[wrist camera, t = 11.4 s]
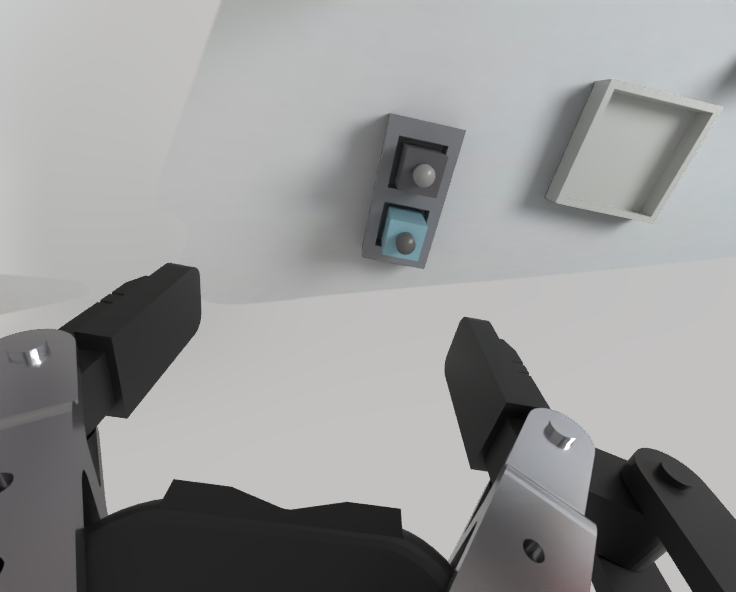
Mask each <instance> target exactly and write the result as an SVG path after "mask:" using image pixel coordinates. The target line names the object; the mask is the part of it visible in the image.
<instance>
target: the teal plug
mask: <svg viewBox="0 0 736 592" xmlns="http://www.w3.org/2000/svg"><path fill="white" fill-rule="evenodd" d="M427 229H428V226H427V224H426V221H425V219H424V217H423V215H422V213H421V211H420V210H418V209H413V208H408V207H403V206H399V205H394V204H389V203H388V206H387V211H386V215H385V219H384V224H383V228H382V233H381V240H382V255H387V256H393V257H398V258H403V259H408V260H413V261H418V259H419V256H420V252H421V249H422V246H423V242H424V239H425V235H426V232H427Z"/></svg>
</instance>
